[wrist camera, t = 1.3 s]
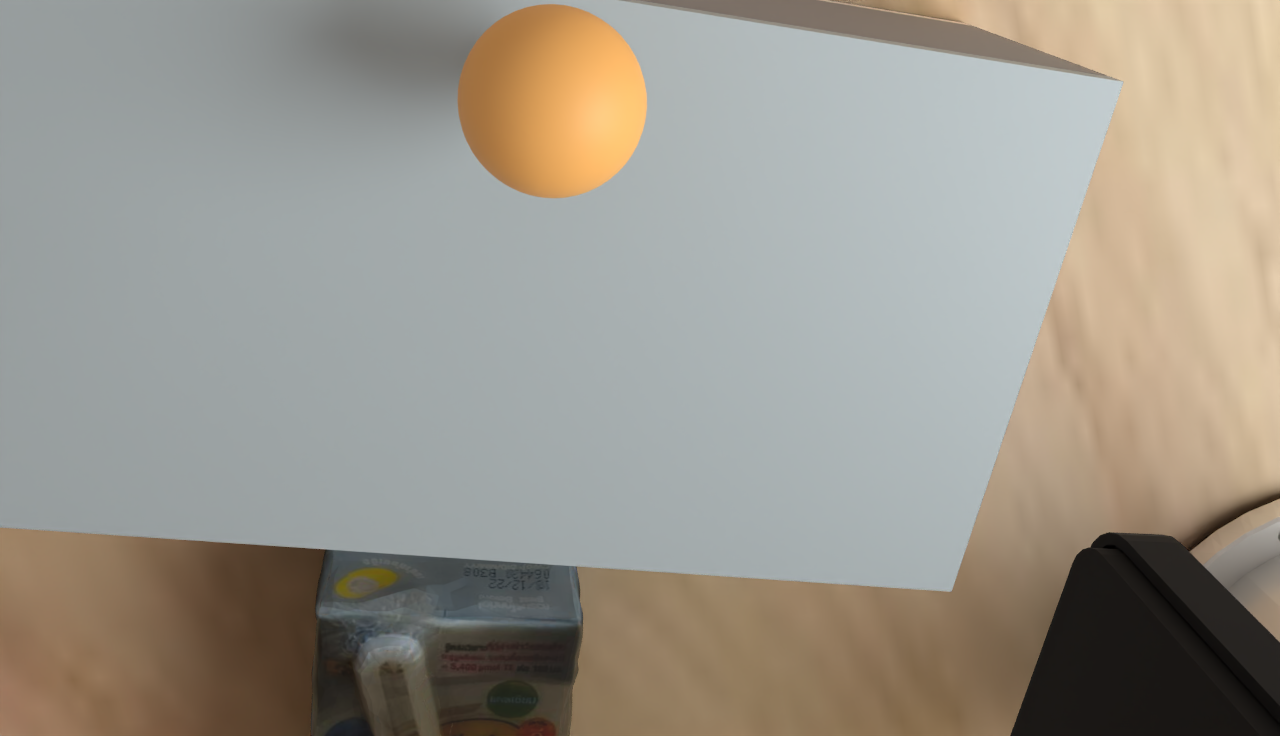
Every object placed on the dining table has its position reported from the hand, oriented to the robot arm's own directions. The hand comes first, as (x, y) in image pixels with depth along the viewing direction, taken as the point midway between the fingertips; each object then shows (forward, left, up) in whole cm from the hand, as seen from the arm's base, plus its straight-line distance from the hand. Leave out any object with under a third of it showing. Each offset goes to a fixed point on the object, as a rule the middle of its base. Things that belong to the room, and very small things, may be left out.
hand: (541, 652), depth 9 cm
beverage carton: (0, +23, -24) cm, 33 cm away
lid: (0, +3, -15) cm, 16 cm away
